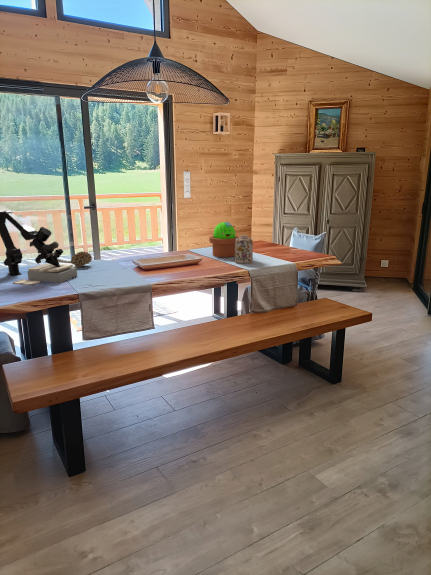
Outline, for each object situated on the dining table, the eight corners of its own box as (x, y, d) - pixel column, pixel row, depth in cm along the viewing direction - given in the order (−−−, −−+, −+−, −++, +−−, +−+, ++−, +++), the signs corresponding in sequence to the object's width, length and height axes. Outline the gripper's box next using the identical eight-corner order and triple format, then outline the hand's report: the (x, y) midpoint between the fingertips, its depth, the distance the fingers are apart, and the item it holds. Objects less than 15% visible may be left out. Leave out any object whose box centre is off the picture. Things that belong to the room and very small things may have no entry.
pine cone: (92, 264, 280) (90, 249, 277) (93, 267, 271) (92, 252, 268) (57, 266, 272) (55, 252, 269) (57, 270, 263) (55, 254, 261)
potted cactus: (206, 253, 313) (205, 220, 306) (233, 251, 320) (233, 219, 313) (214, 259, 293) (214, 223, 286) (243, 257, 299) (244, 222, 293)
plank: (13, 284, 232) (12, 282, 232) (22, 281, 239) (22, 279, 238) (31, 286, 228) (31, 284, 228) (40, 283, 235) (40, 281, 234)
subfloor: (28, 279, 240) (27, 268, 238) (47, 273, 255) (46, 263, 253) (59, 282, 233) (58, 271, 232) (77, 275, 248) (76, 265, 246)
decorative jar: (252, 263, 279) (253, 236, 274) (235, 263, 280) (235, 236, 275) (251, 259, 291) (252, 234, 286) (234, 259, 291) (235, 234, 286)
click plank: (38, 271, 237) (38, 269, 237) (55, 266, 250) (54, 264, 250) (57, 271, 233) (57, 269, 233) (73, 266, 246) (72, 264, 246)
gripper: (36, 240, 229) (55, 260, 229) (59, 235, 246) (76, 254, 246) (27, 253, 234) (45, 273, 233) (49, 247, 251) (66, 266, 250)
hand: (59, 266), depth 240 cm, fingers closed, pressing on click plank
